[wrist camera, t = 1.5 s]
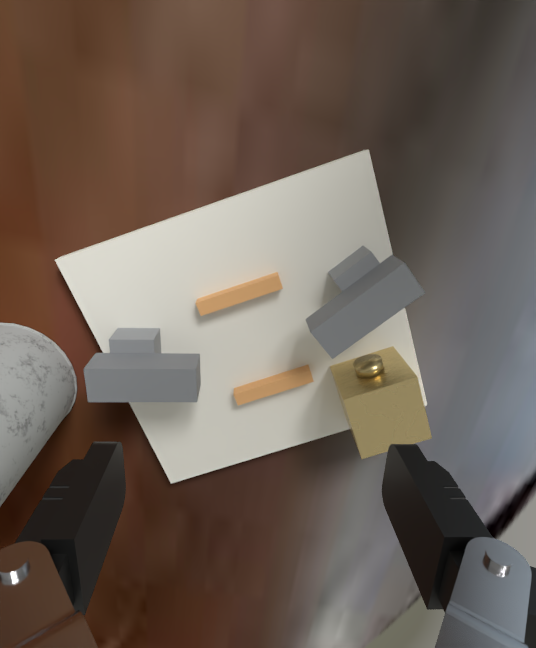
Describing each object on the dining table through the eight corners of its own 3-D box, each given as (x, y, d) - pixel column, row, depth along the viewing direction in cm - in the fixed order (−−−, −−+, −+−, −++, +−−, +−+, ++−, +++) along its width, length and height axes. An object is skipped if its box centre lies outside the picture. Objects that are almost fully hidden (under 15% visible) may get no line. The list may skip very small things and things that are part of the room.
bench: (367, 148, 29) (394, 145, 23) (424, 396, 36) (455, 438, 30) (59, 257, 30) (18, 277, 25) (171, 474, 37) (158, 527, 32)
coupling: (326, 357, 33) (340, 389, 28) (390, 336, 32) (415, 366, 28) (348, 427, 35) (364, 468, 30) (408, 408, 35) (433, 447, 30)
